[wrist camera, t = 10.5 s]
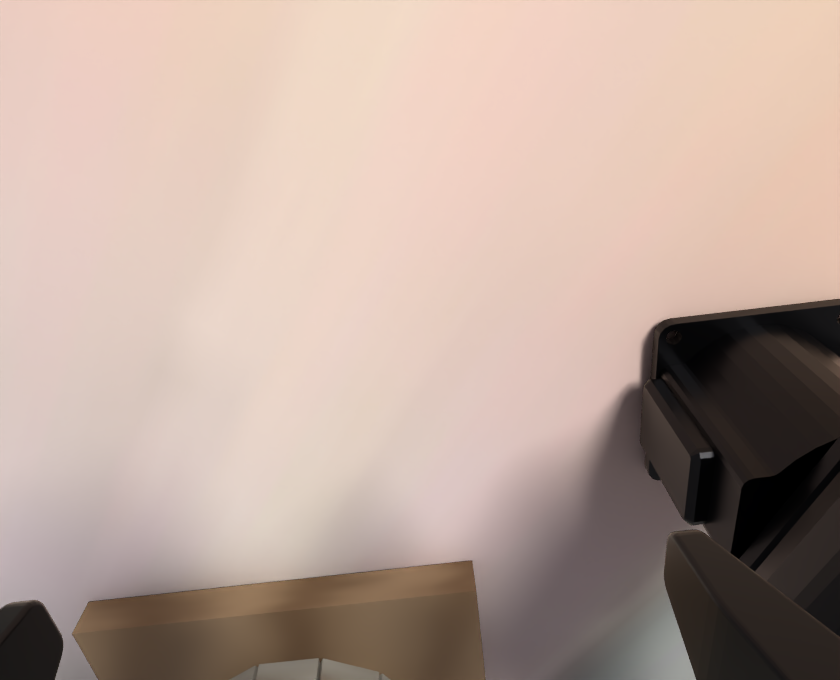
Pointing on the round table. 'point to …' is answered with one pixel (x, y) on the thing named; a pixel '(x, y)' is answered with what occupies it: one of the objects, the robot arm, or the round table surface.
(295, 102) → the round table surface
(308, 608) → the socket base
